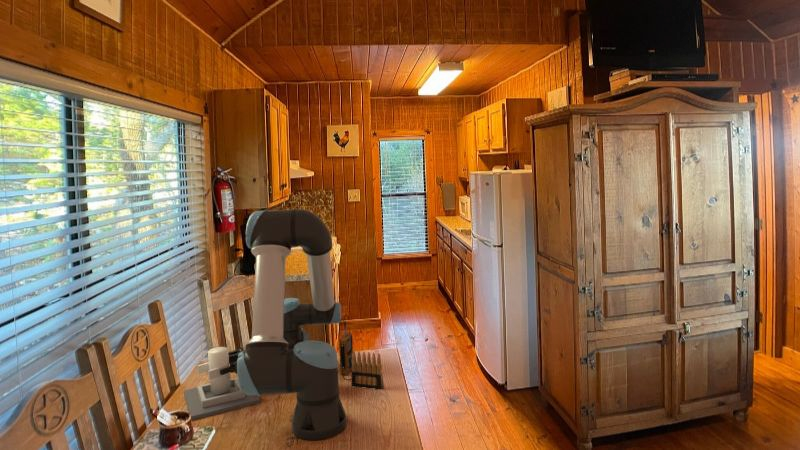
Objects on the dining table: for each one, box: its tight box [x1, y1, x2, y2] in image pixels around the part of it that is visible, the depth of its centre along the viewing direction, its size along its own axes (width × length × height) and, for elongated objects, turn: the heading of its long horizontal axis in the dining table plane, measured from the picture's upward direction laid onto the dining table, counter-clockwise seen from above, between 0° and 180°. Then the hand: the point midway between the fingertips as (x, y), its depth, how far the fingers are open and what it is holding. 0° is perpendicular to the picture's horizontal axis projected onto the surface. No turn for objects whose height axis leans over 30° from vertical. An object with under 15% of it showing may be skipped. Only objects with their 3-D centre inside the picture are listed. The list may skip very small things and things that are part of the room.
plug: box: [207, 346, 231, 394], centre depth 150 cm, size 6×6×13 cm
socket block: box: [183, 376, 261, 421], centre depth 150 cm, size 20×20×3 cm
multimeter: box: [338, 314, 354, 381], centre depth 167 cm, size 15×10×20 cm
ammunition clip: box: [351, 350, 384, 390], centre depth 155 cm, size 11×2×12 cm, turn 72°
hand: (203, 372), depth 146 cm, fingers closed on plug, 6 cm apart
